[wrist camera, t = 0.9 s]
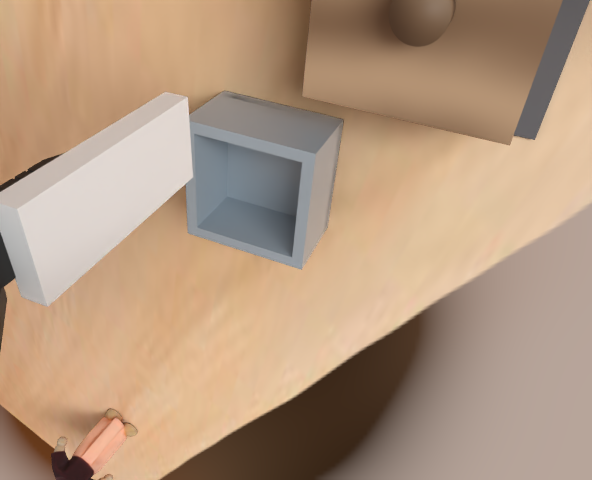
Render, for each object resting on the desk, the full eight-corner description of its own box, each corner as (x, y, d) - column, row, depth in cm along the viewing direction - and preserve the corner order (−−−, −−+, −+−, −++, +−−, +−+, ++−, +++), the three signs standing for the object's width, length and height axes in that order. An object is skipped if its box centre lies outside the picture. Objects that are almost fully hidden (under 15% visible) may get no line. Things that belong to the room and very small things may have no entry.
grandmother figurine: (148, 432, 62) (75, 536, 53) (138, 443, 65) (66, 544, 55) (96, 393, 62) (12, 490, 52) (88, 405, 64) (6, 500, 55)
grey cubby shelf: (224, 90, 34) (182, 119, 30) (343, 119, 32) (315, 153, 28) (223, 196, 38) (187, 233, 35) (327, 227, 36) (301, 269, 33)
